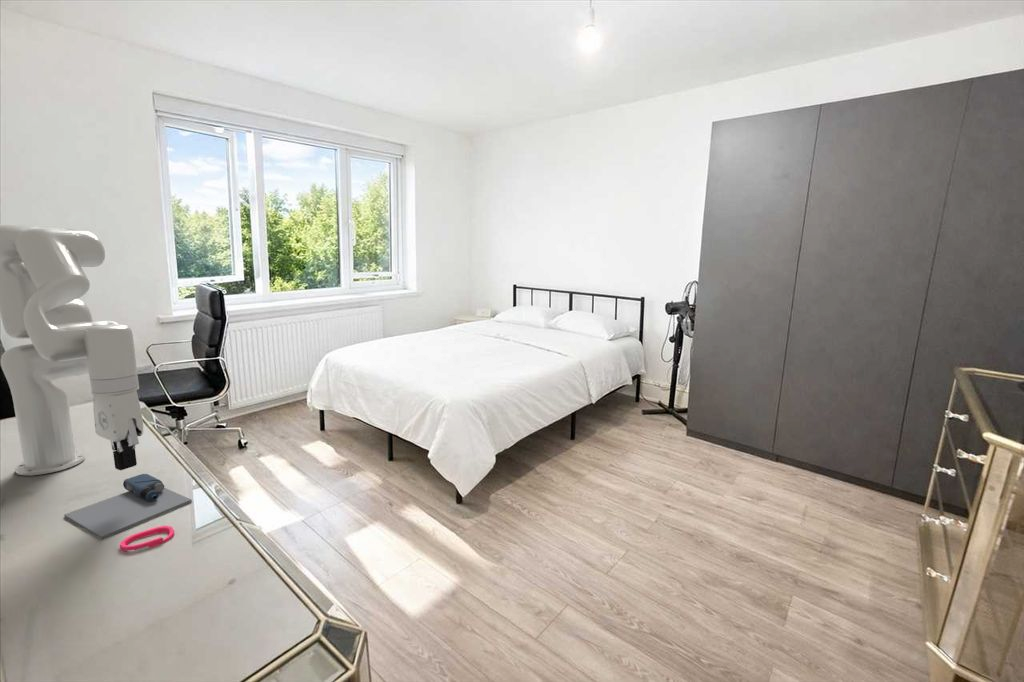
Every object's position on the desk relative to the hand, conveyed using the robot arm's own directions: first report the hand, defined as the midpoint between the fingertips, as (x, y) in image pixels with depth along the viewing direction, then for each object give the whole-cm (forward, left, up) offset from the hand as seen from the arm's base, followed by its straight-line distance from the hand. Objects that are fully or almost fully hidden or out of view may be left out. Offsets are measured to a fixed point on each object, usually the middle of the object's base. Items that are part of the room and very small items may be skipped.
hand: (126, 467), depth 99 cm
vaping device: (-8, +4, -7) cm, 11 cm away
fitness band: (+18, -5, -9) cm, 21 cm away
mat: (+2, -1, -9) cm, 9 cm away
